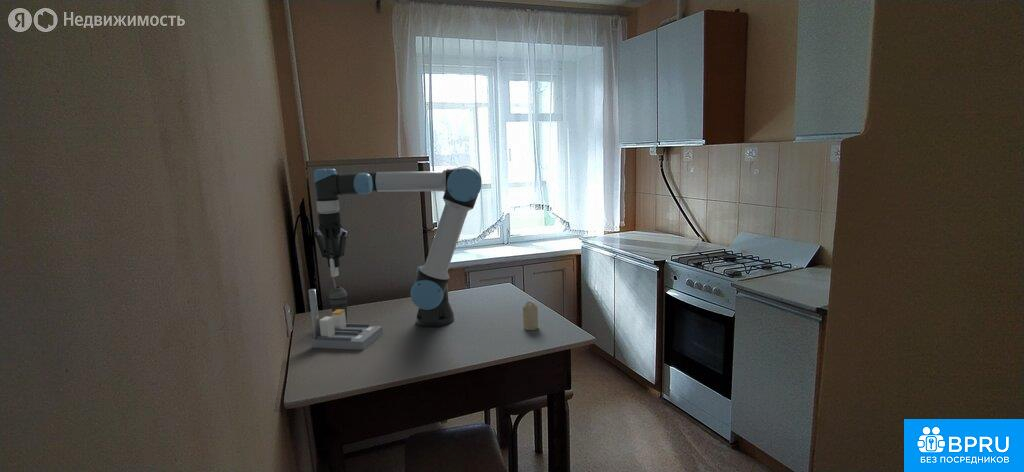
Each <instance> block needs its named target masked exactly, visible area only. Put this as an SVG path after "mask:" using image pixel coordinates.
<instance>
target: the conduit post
mask: <svg viewBox="0 0 1024 472" xmlns="http://www.w3.org/2000/svg"><path fill="white" fill-rule="evenodd" d="M316 291H317V289H316V288H309V289H308V299H309V307H310V308H309V309H310V315H311V322H312V323H311V324H312V334H313V339H317V337H318V336H321V331H320V322H319V320H320V313H319V308H318V299H317V292H316Z"/></svg>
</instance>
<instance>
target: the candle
mask: <svg viewBox="0 0 1024 472" xmlns="http://www.w3.org/2000/svg"><path fill="white" fill-rule="evenodd" d="M522 316H523V317H522V318H523V319H522V320H523V322H522V323H523V329H524V330H526V331H535V330H538V328H539V313H538V305H537V304H536V303H534V302H530V301H526V302H524V304H523V305H522Z"/></svg>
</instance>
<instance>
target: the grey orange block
mask: <svg viewBox="0 0 1024 472" xmlns="http://www.w3.org/2000/svg"><path fill="white" fill-rule="evenodd" d="M331 317H333V321H334V328H345V327H346V317H345V309H337V310H335V311H334V312H332V311H331Z"/></svg>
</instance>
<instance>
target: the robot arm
mask: <svg viewBox="0 0 1024 472" xmlns="http://www.w3.org/2000/svg"><path fill="white" fill-rule="evenodd" d="M313 173H314V174H313V176H314V177H313V178H314V179H313V184H314V191H315V197H316V210H317V213H318V214H317V221H318V224H319V226H318V229H317V230H316V231H313V232H312V235H313V237H315V239H316V242H317V245H318V248H319V251H320V254H321V257H322V258H326V259H327V266H328V268H330V269H329V270H330V277H331V278H333V277H334V278H336V277H337V276H339V275H340V274H339V268H340V266H341V264H340V262H341V261H340V258H342V257H344V256H345V251H346V244H347V237H348V235H349V232H350V231H348V230H345V229H343V227H342V225H341V221H342V219H341V212H340V210H341V208H340V199H339V196H351V195H352V196H355V195H359V196H363V195H369V194H371V193H377V192H378V193H379V192H385V193H386V192H387V193H388V192H389V193H390V192H444V194H443V196H442V199H443V201H444V206H443V209H442V213H441V215H440V219H439V222H438V223H437V224H438V225H437V227H436V231H435V233H434V237H433V240H432V242H431V245H430V249H429V251H428V255H427V257H426V260H425V263H424V264H423V265H420V266H417V268H416V277H415V280H414V283H413V285H412V286H411V288H410V300H411V301H412V303H413V305H414V306H416V307H417V308H418V309H417V312H416V318H415V319H416V320H415V321H416V324H417V325H418V326H421V327H426V328H434V327H442V326H446V325H449V324H451V323H452V322H454V321H455V314H454V311H453V308H452V306H451V303H450V301H449V300H450V299H449V288H448V283H449V280H450V275H449V272H448V271H449V268H450V264H451V262H452V259H453V256H454V254H455V253H454V252H455V250H456V247H457V244H458V242H459V238H460V235H461V232H462V230H463V227H464V224H465V221H466V218H467V215H468V213H469V211H471V210H473V209H474V207H475V206H476V205H475V204H476V203H477V200H478V197H479V194H480V192H481V191H482V190H481V189H482V184H483V181H482V177H481V174H480V173H479V171H478V170H477V169H475V168H474V167H472V166H468V165H467V166H466V165H465V166H459V167H455V168H445V169H444V170H443V171H441V170H440V171H437V170H436V171H435V170H434V171H430V170H429V171H361V172H355V173H354V172H353V173H342V174H341V173H338V172H337V170H336V169H335V168H319V169H318V168H317V169H315V170H314V172H313ZM339 235H340V236H339Z"/></svg>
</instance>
